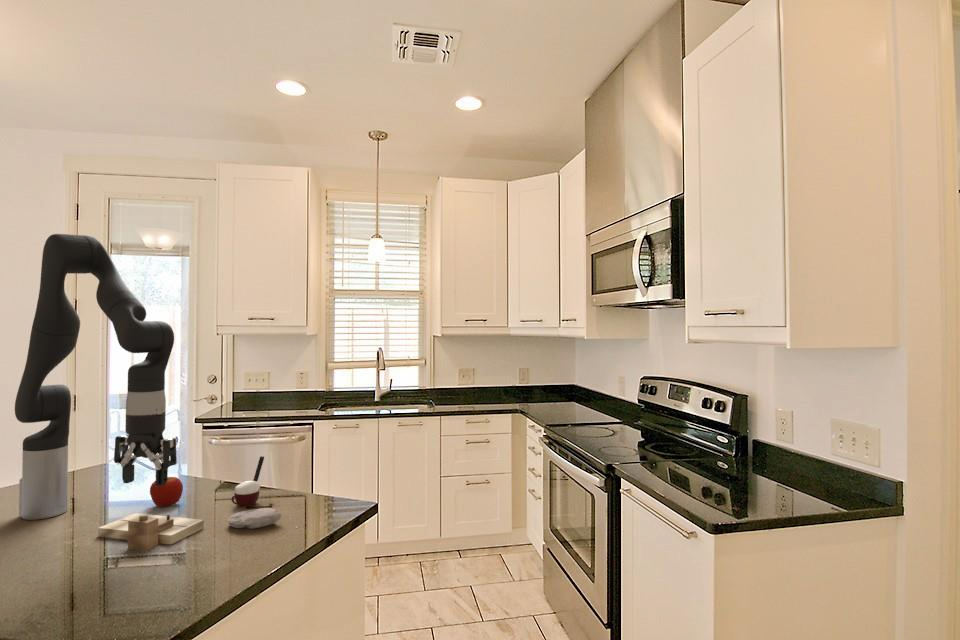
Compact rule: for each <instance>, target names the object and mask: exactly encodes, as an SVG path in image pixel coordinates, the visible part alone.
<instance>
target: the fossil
mask: <svg viewBox="0 0 960 640" xmlns="http://www.w3.org/2000/svg"><path fill="white" fill-rule="evenodd" d="M281 518H282V513H281V512H280V511H279V512H277V509H275V508H271V507H270V508H269V507H263V508H262V507H259V508H258V509H250V510H243V511H238V512H236V513H234V514H232V515H231V516H229V518H228V519H227V523H228V525H229V526H230V527H232V528H236V529H243V528H247V529H251V530H253V529H261V528H263V527H268V526H271V525H273V524H276V523H277V522H278V521H279V520H280V519H281Z"/></svg>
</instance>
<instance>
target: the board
mask: <svg viewBox="0 0 960 640" xmlns="http://www.w3.org/2000/svg"><path fill="white" fill-rule="evenodd" d="M141 515H148V517H153V518H158V522H159V521H161V520H164V519H166V518H167V515H166V516H165V515H156V514H155V515H154V514H145V513H135V512H134V513H132V514H130V515H126V516H124V517H121V518H119V519H117V520H114V521H112V522H109V523H107V524H105V525H102V526H100V527H97V537H100V538H108V539H117V540H125V541H126V540H127V541H128V521H129V520H132V519H134V518H137V517H139V516H141ZM170 519H174V525H173V526H170V527H168V528H166V529H164V530H162V531H159V532H158V544H163V545H172V544H175V543H177V542H178V541H181V540H183V539H185V538H187V537H188V536H191V535H193V534H195V533H197V532H198V531H201V530H203V529H204V524H205V523H204V521H205V519H198V518H188V517H178V516H177V517H176V516H170Z"/></svg>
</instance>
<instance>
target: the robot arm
mask: <svg viewBox="0 0 960 640" xmlns="http://www.w3.org/2000/svg"><path fill="white" fill-rule="evenodd" d="M67 274H76V275H77V274H91V275H93V276H94V277H95V278H97V280H98V281H99V282H98V285H97V287H96V288H97V289H96V294H95V295H96V296H95V297H96V301H97V304H98V306H99V308H100V309H101V311H102V312H103V313H104V314H105V316H106V317H107V318H108V320H109V321H110V322H111V323H112V326H113V328H114V332H115V335H116V339H117V341H118V345H120V348H122V349H123V350H125V351H126V352H128V353H131V354H146V353H147V354H146V357H145V358H144V360H143V361H142V362H138V363H135V364H132V365H131V366H129V368H128V370H127V371H128V372H127V393H126V400H125V429H124V430H125V434H123V435H122V434H121V435H118V436H116V437H115V439H114V440H115V441H114V455H113V463H115V464H120V467H122V470H121V471H122V472H121V475H122V476H121V477H122V478H121V479H122V481H123V482H122V483H123V484H129V483H133V482H134V481H135V462H136V461H137V459H138V458H145V459H148V460H149V461H150V462H151V463H153V464H154V466H155V468H156V469H155V481H156V486H158V487H160V486H163V485H165V484H166V482H167V480H168V478H167V477H169V474H168V469H169V468H170V467H173V466H176V464H177V463H178V462H177V459H178V458H177V440H176V438H175V437H172V438H171V437H170V438H164V435H163V433H164V431H165V430H166V414H167V413H166V411H167V410H166V408H167V405H166V403H167V402H166V401H167V400H166V392H165V389H166V387H165V386H166V381H165V380H166V378H165V377H166V376H165V373H166V369H167V367H168V363H169V360H170V357H171V353H172V351H173V348H174V345H175V333H174V330H173V327H172V326H171V325H170V324H169V323H168V322H165V321H162V320H161V321H160V320H146V317H147V311H146V308H145V307H144V305H143V303H141V302H140V300H139V299H138V298H137V297H136V296H135V294H134V293H132V291H131V290H130V289H129V287H128V286H127V285H126V283H125V282H124V280H123V278H122V277H121V275H120V273H119V270H118V269H117V267H116V266H115V262H114V261H113V260H112V258H111V256H110V254H109V252H108V251H107V249H106V247H105V246H104V244H103V243H102V241H100V240H99V239H98V238H96V237H95V236H90V235H85V234H84V235H83V234H82V235H80V234H67V233H53V234H51V235H49V236H48V238H46V240H45V243H44V246H43V250H42V259H41V268H40V282H39V291H38V298H37V302H36V303H37V304H36V309H35V313H34V318H33V321H32V327H31V329H30V331H31V332H30V337H29V343H28V344H29V345H28V350H27V351H28V352H27V357H26V361H25V365H24V370H23V373H22V376H21V380H20V383H19V385H18V389H17V393H16V398H15V402H14V415H15V418H16V420H17V421H19V422H20V423H23V424H30V423H32V424H34V423H42V422H49V423H48V425H47V426H46V427H45V428H43V429H42V430H39V431H37V432H36V433H33V434H31V435H28V436H26V437H25V438H23V441H22V453H21V454H22V459H21V460H22V467H21V468H22V470H21V471H22V472H21V478H20V479H19V482H18V483H19V484H18V485H19V486H18V487H19V488H18V492H19V493H18V494H19V495H18V496H19V497H18V516H19V517H21V519H23V520H26V521H27V520H28V521H29V520H30V521H31V520H43V519H48V518H52V517H56V516H60V515H61V514H65V513H67V511H68V487H69V482H68V481H69V480H68V479H69V474H68V473H69V436H70V421H71V420H70V419H71V407H72V395H71V391H70V389H69V387H68V386H67V385H64V384H50V385H49V384H47V385H43V383H44V381H45V379H46V378H47V377H48V375H49V374H50V372H51V371H53V370H54V369H55V368H56V367H58V365H59V364H61V362H63V361H64V360H65V359H66V358H67V357H68V356H69V355H70V354H71V353H72V352H73V351H74V349H75V348H76V347H77V342H78V338H79V333H80V327H81V320H80V316H79V314H78V313H77V310H76V309H75V308H74V305H72V303H71V302H70V300H69V297H68V296H67V294H66V291H65V281H66V276H67Z"/></svg>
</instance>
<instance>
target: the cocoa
mask: <svg viewBox="0 0 960 640" xmlns="http://www.w3.org/2000/svg"><path fill="white" fill-rule="evenodd" d="M264 460H265V456H264V455H260V456H259V459H258V463H257V466H256V470H255V474H254V477H253V480H246V481H243V482H241V483H239V484H238V485H236V486H235V487H234V495H233V496H232V497H231V502H232V503H233V504H234V505H236V506H239V505H240V507H244V506H245V507H250V506H249V505H251V506H253V505H255V504H256V503H257V501H258V499H259V496H260V489H261V485H260V483H259V482H258V481H259V477H260V474H261V472H262V471H261V470H262V466H263V463H264Z"/></svg>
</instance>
